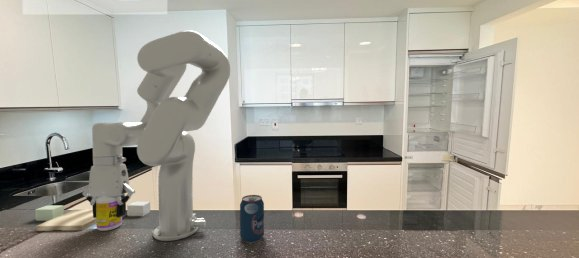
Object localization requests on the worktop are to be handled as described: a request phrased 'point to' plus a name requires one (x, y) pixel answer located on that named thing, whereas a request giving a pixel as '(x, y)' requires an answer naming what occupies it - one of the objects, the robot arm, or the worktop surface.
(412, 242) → the worktop surface
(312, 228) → the worktop surface
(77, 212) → the birch board
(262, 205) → the soda can
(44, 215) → the green block
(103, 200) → the supplement bottle
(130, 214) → the white block
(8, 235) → the worktop surface
